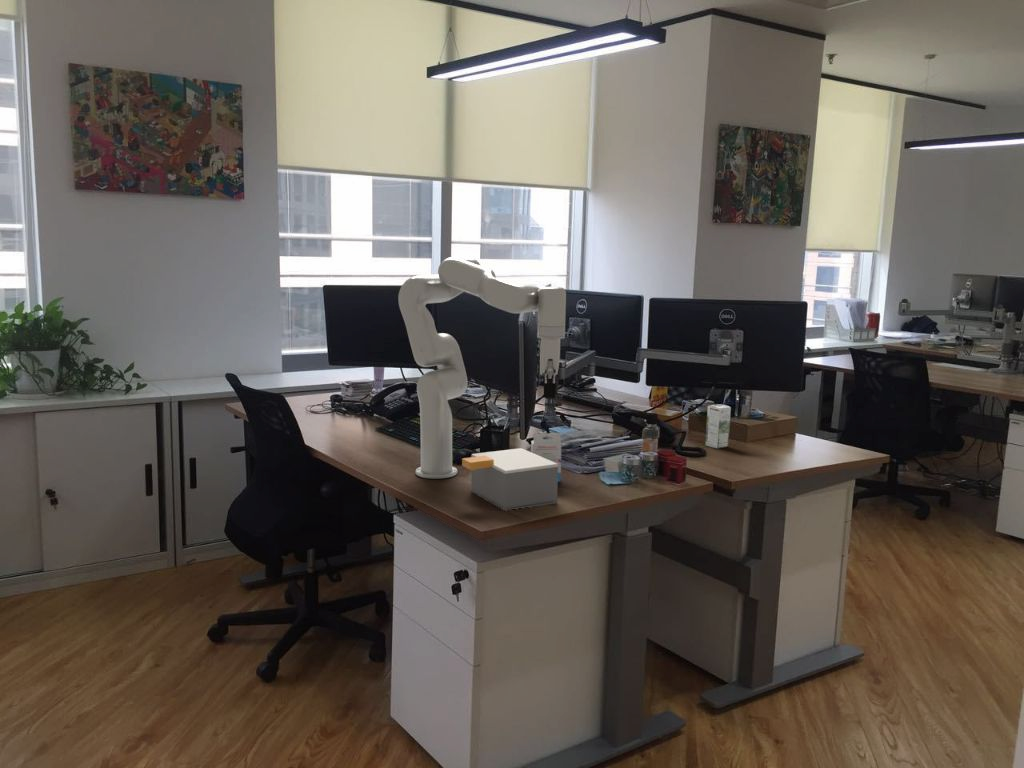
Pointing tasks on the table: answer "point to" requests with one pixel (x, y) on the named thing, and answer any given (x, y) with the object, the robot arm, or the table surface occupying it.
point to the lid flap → (508, 461)
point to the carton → (516, 487)
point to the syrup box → (718, 426)
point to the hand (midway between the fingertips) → (549, 394)
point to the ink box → (548, 448)
